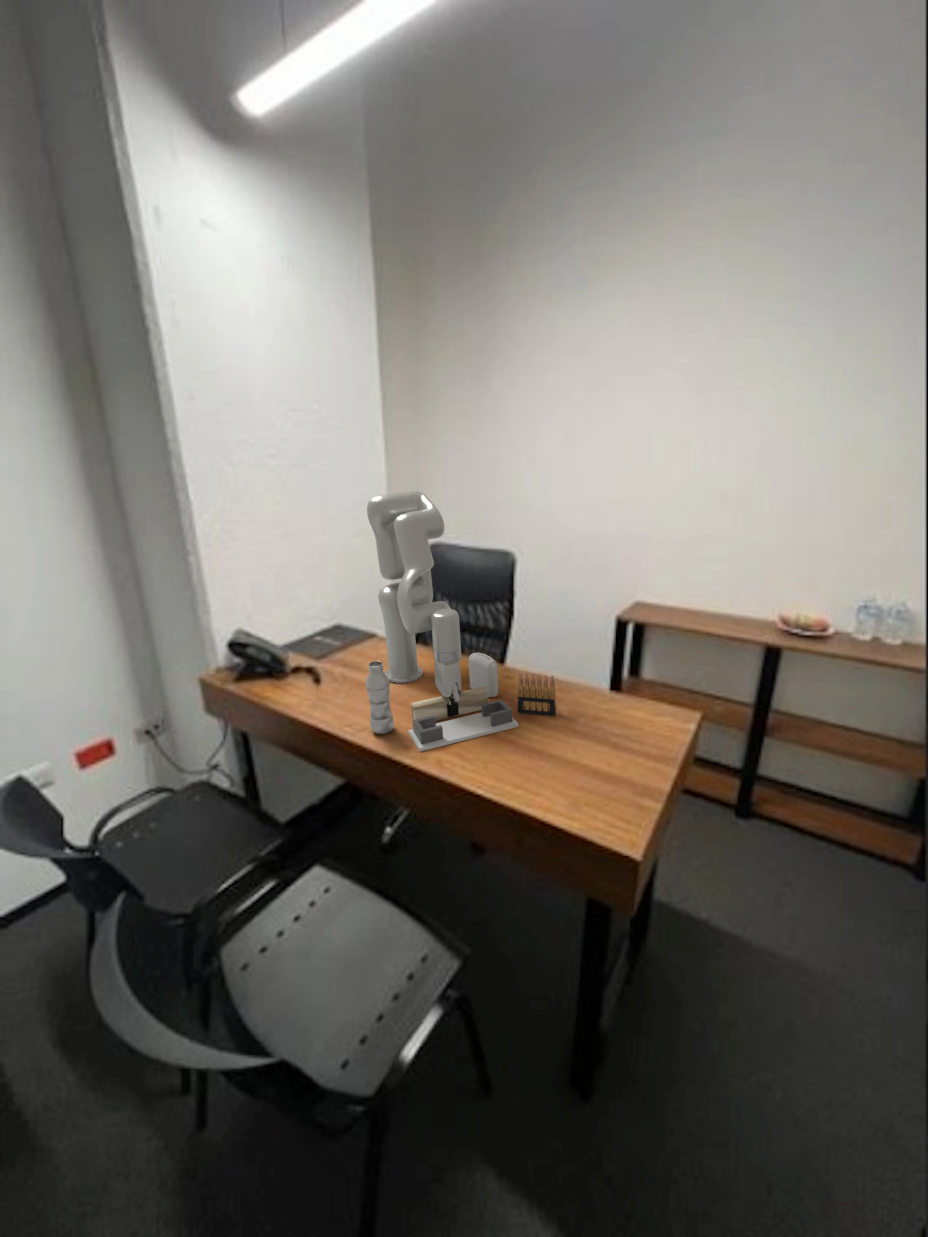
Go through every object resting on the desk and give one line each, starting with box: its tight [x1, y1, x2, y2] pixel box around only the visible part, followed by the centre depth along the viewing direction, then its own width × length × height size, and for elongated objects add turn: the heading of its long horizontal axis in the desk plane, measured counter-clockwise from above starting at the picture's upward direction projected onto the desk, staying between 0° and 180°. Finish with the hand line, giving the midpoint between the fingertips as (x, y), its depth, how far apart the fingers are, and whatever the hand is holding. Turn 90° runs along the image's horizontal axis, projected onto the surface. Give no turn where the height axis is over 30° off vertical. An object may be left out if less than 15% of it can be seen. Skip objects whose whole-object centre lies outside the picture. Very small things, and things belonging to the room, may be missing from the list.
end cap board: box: [408, 699, 519, 752], centre depth 152 cm, size 10×28×4 cm, turn 111°
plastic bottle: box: [365, 660, 395, 735], centre depth 152 cm, size 6×7×20 cm
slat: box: [410, 687, 489, 722], centre depth 161 cm, size 3×22×6 cm, turn 111°
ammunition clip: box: [517, 672, 557, 717], centre depth 158 cm, size 11×2×12 cm, turn 74°
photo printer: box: [467, 652, 499, 698], centre depth 172 cm, size 10×4×12 cm, turn 39°
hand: (450, 712), depth 162 cm, fingers closed on slat, 2 cm apart
